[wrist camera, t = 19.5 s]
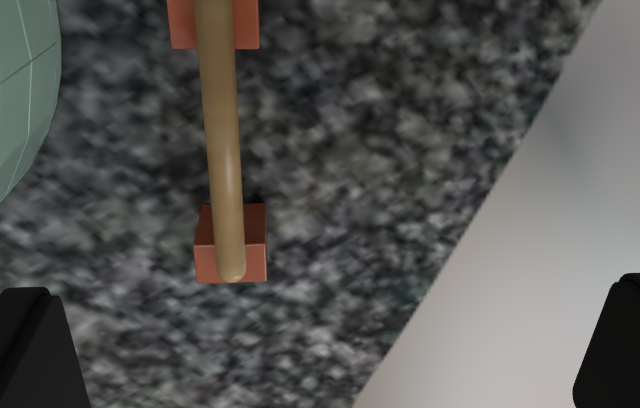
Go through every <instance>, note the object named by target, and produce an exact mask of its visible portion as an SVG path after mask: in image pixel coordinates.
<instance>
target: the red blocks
mask: <svg viewBox="0 0 640 408" xmlns="http://www.w3.org/2000/svg"><path fill="white" fill-rule="evenodd" d="M166 3H167V12H168V21H169V31H170V40H171V47H172V48H173V49H198V46H197V34H196V23H195V11H194V0H166ZM232 12H233V30H234V49H259V47H260V34H261V7H260V0H232ZM243 216H244V234H245V253H246V272H245V275H244V276H243V278H242V279H241V280H239V281H237V282H265V281H267V207H266V203H248V204H243ZM193 250H194V260H195V269H196V278H197V283H228V282H225V281H223V280H222V279H221V278H220V277H219V275H218V273H217V266H216V255H215V243H214V231H213V220H212V208H211V204H203V205H202V207H201V212H200V216H199V221H198V225H197V230H196V235H195V239H194V244H193Z"/></svg>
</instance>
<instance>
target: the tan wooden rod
mask: <svg viewBox="0 0 640 408" xmlns="http://www.w3.org/2000/svg"><path fill="white" fill-rule="evenodd" d="M194 11H195V23H196V34H197V46H198V58H199V69H200V81H201V92H202V104H203V116H204V127H205V139H206V150H207V162H208V174H209V185H210V197H211V208H212V220H213V231H214V243H215V255H216V266H217V273H218V275H219V277H220V278H221V279H222V280H223V281H225V282H228V283H234V282H237V281H239V280H241V279H242V278H243V276H244V275H245V272H246V253H245V234H244V216H243V197H242V179H241V160H240V141H239V123H238V104H237V86H236V67H235V49H234V30H233V12H232V0H194Z"/></svg>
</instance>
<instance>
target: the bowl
mask: <svg viewBox="0 0 640 408" xmlns="http://www.w3.org/2000/svg"><path fill="white" fill-rule="evenodd" d="M60 78H61V34H60V27H59V19H58V12H57V5H56V0H0V203H1V201H2V200H3V199H4V198H5V197H6V196H7V194H8V193H9V192H10V191H11V190H12V189H13V187H14V186H15V185H16V184H17V183H18V182H19V181H20V179H21V178H22V177H23V176H24V175H25V174H26V172H27V171H28V170H29V169H30V167H31V165H32V162H33V161H34V160H35V158H36V156H37V154H38V152H39V150H40V148H41V146H42V144H43V142H44V140H45V138H46V136H47V134H48V131H49V128H50V125H51V121H52V118H53V115H54V112H55V108H56V105H57V99H58V92H59V85H60Z"/></svg>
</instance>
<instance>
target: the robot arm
mask: <svg viewBox="0 0 640 408" xmlns="http://www.w3.org/2000/svg"><path fill="white" fill-rule="evenodd" d="M573 401H574V404H575V406H576V408H640V273H628V274H624V275H623V276H622V277H621V278H620V280H619V282H615V283H614V284H613V285H612V286H611V288H610V290H609V293H608V296H607V298H606V301H605V304H604V306H603V309H602V312H601V314H600V317H599V320H598V322H597V325H596V328H595V330H594V333H593V335H592V338H591V341H590V343H589V346H588V349H587V351H586V354H585V357H584V359H583V362H582V365H581V367H580V370H579V372H578V375H577V378H576V380H575V383H574V386H573ZM0 408H91V406H90V402H89V398H88V395H87V391H86V387H85V384H84V380H83V376H82V373H81V369H80V366H79V362H78V358H77V355H76V351H75V347H74V344H73V340H72V336H71V333H70V329H69V326H68V322H67V318H66V315H65V311H64V307H63V304H62V301H61V298H60V297H59V296H51V294H50V292H49V290H48V289H47V288H45V287H19V288H7V289H5V290H4V291H3V292H2V293H1V294H0Z"/></svg>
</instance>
